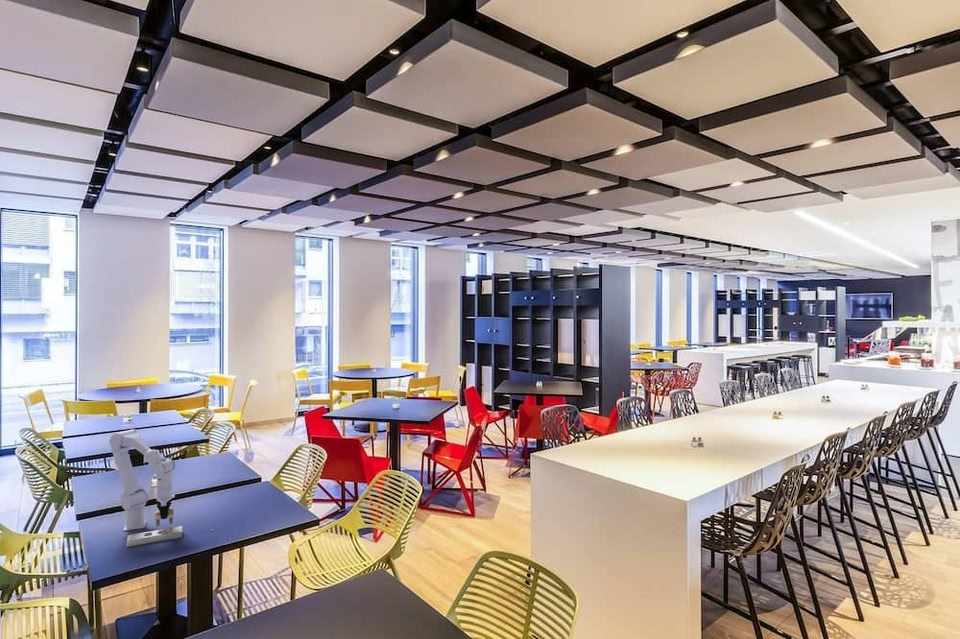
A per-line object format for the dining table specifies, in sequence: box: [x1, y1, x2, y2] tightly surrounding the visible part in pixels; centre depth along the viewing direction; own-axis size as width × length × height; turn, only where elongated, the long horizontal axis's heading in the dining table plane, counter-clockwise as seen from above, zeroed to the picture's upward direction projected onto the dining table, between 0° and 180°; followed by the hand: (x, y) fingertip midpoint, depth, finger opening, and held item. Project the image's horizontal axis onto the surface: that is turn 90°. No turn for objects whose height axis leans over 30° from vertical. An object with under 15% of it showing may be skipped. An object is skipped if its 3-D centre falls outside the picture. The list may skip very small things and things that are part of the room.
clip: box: [154, 508, 175, 527], centre depth 235 cm, size 3×7×6 cm, turn 119°
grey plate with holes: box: [126, 525, 183, 548], centre depth 225 cm, size 7×20×2 cm, turn 119°
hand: (164, 517), depth 235 cm, fingers closed on clip, 3 cm apart
